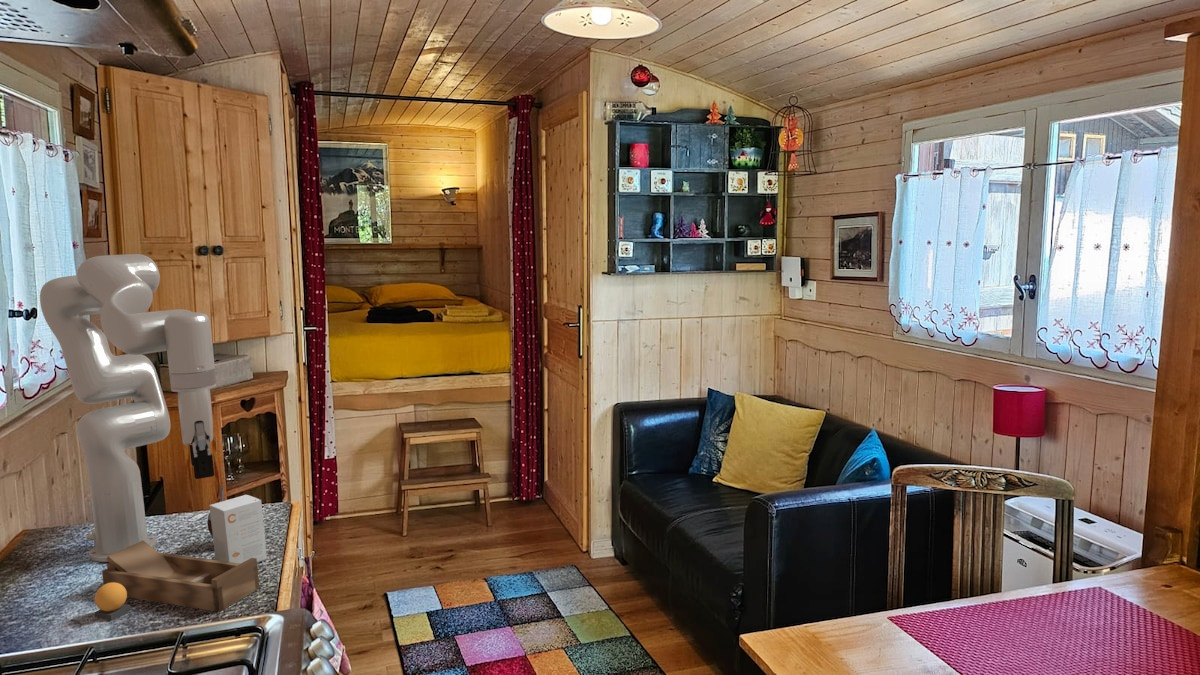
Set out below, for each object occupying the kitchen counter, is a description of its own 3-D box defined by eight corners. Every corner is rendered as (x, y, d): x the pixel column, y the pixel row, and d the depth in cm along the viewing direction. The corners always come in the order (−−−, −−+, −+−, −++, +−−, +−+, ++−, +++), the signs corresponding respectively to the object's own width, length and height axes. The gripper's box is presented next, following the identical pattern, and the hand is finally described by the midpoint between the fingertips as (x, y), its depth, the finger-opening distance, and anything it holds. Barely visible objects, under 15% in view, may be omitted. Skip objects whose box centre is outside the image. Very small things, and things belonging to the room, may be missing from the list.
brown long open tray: (104, 593, 157) (100, 557, 156) (148, 571, 166) (144, 538, 165) (219, 612, 148) (215, 574, 147) (259, 588, 157) (256, 552, 156)
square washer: (94, 617, 147) (94, 612, 147) (114, 607, 151) (113, 602, 151) (111, 620, 146) (110, 615, 146) (131, 610, 150) (130, 605, 149)
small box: (252, 552, 175) (247, 493, 173) (267, 559, 171) (262, 499, 169) (214, 565, 169) (208, 504, 167) (229, 573, 165) (223, 510, 163)
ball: (89, 614, 147) (86, 588, 146) (114, 602, 151) (111, 576, 151) (110, 618, 145) (107, 591, 144) (134, 605, 150) (131, 579, 149)
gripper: (168, 375, 156) (178, 463, 158) (172, 390, 141) (182, 486, 143) (212, 371, 159) (220, 456, 162) (219, 385, 144) (229, 479, 147)
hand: (202, 470), depth 153 cm, fingers open, 9 cm apart
